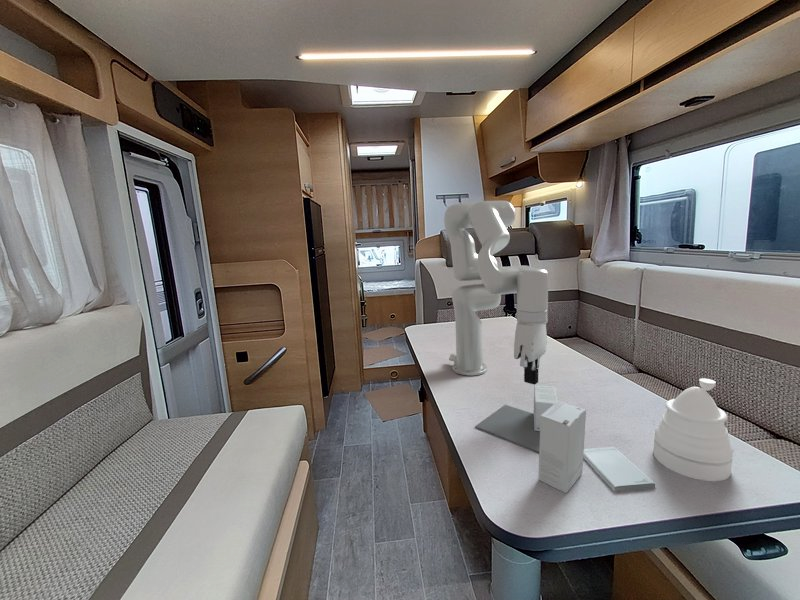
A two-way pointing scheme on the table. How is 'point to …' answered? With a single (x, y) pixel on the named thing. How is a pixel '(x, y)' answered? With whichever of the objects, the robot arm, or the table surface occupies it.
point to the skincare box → (561, 445)
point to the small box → (543, 402)
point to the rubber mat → (512, 427)
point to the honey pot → (694, 436)
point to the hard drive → (616, 469)
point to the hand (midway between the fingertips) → (531, 382)
